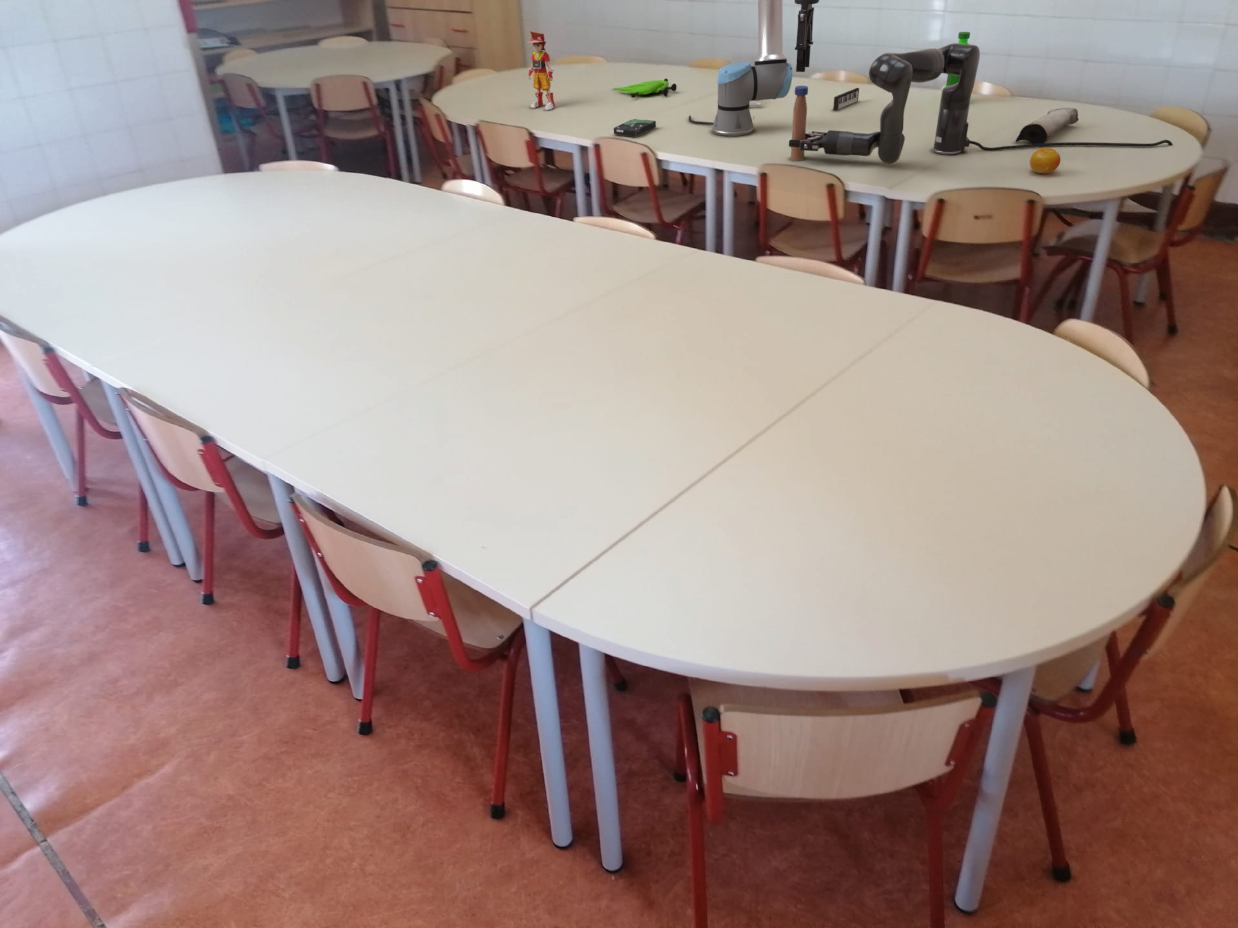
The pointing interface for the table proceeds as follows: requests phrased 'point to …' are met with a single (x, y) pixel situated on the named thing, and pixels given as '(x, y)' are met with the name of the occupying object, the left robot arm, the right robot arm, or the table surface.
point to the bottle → (799, 126)
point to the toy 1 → (541, 71)
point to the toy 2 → (648, 88)
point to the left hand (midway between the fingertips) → (802, 69)
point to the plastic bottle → (962, 40)
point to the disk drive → (634, 127)
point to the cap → (801, 90)
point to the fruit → (1045, 160)
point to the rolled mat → (1048, 125)
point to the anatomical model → (754, 103)
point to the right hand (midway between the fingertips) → (792, 139)
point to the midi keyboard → (846, 98)
